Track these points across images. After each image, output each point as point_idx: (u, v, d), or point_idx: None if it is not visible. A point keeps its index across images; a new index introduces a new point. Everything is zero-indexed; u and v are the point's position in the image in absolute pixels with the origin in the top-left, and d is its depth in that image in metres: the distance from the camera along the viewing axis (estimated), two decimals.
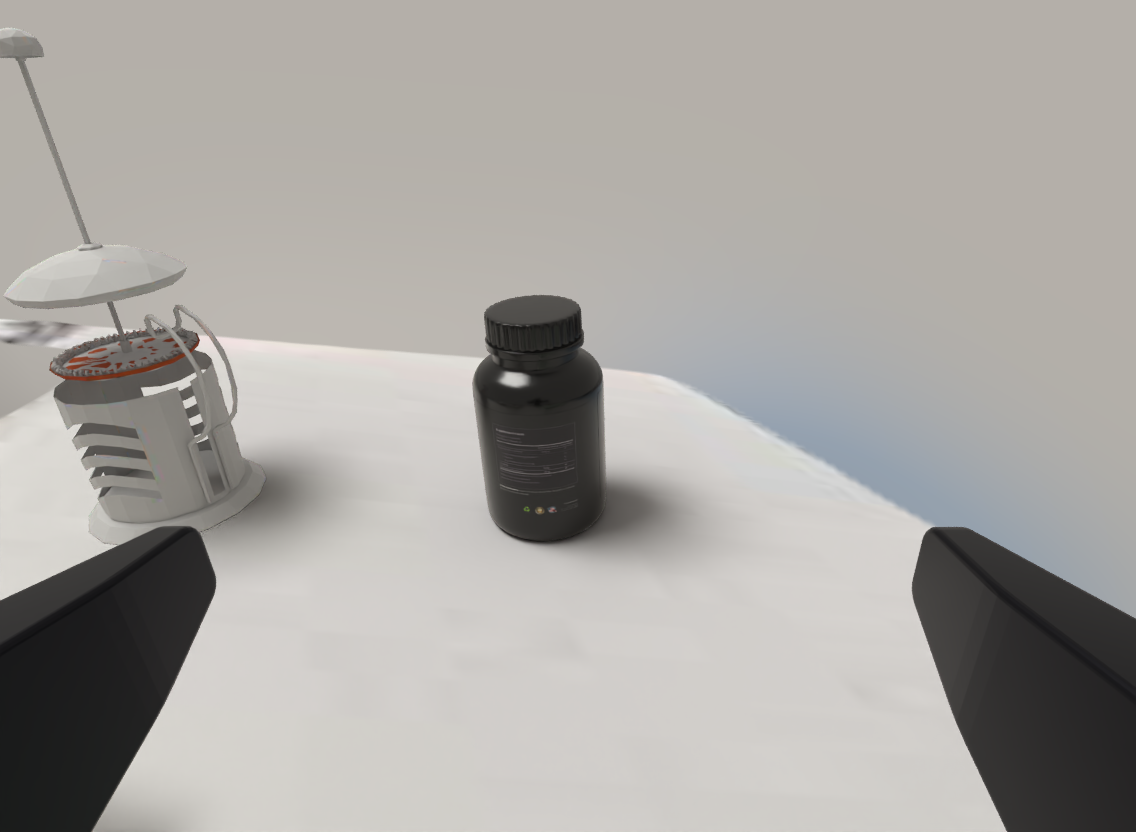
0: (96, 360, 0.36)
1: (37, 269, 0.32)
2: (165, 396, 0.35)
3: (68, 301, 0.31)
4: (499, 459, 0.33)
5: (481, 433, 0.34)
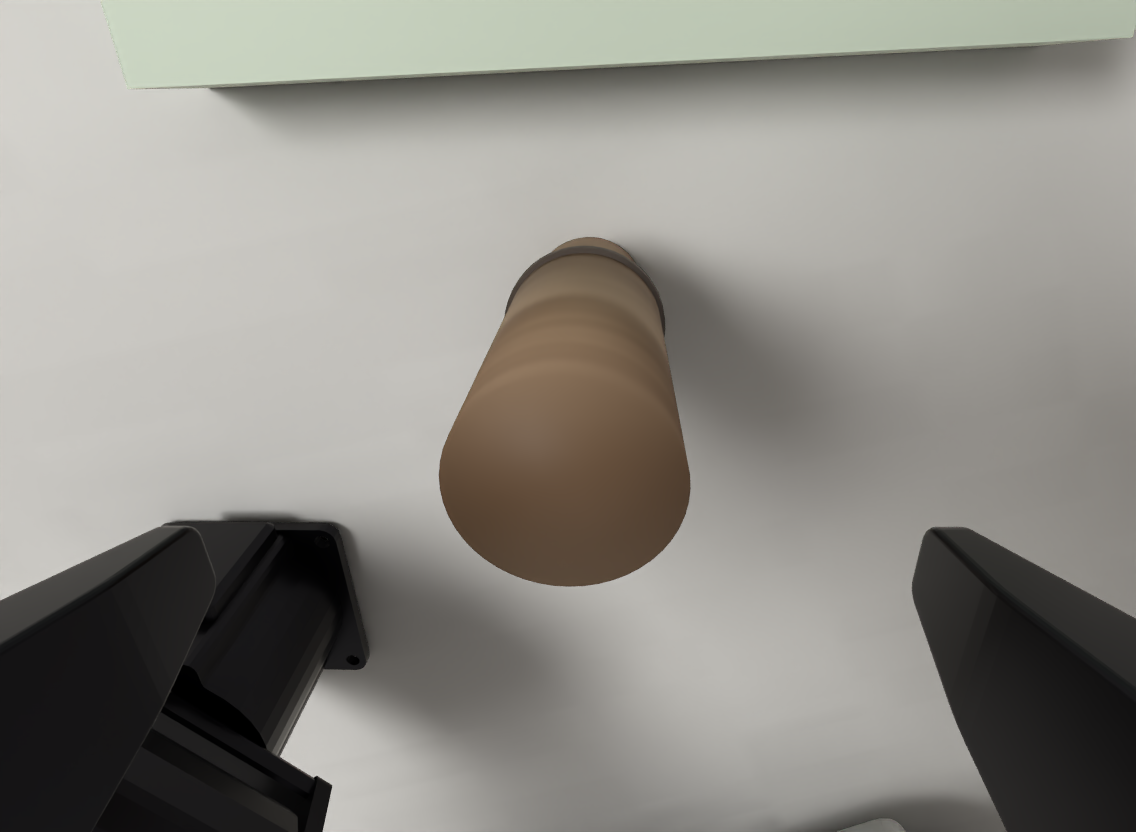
0: None
1: None
2: None
3: None
4: None
5: None
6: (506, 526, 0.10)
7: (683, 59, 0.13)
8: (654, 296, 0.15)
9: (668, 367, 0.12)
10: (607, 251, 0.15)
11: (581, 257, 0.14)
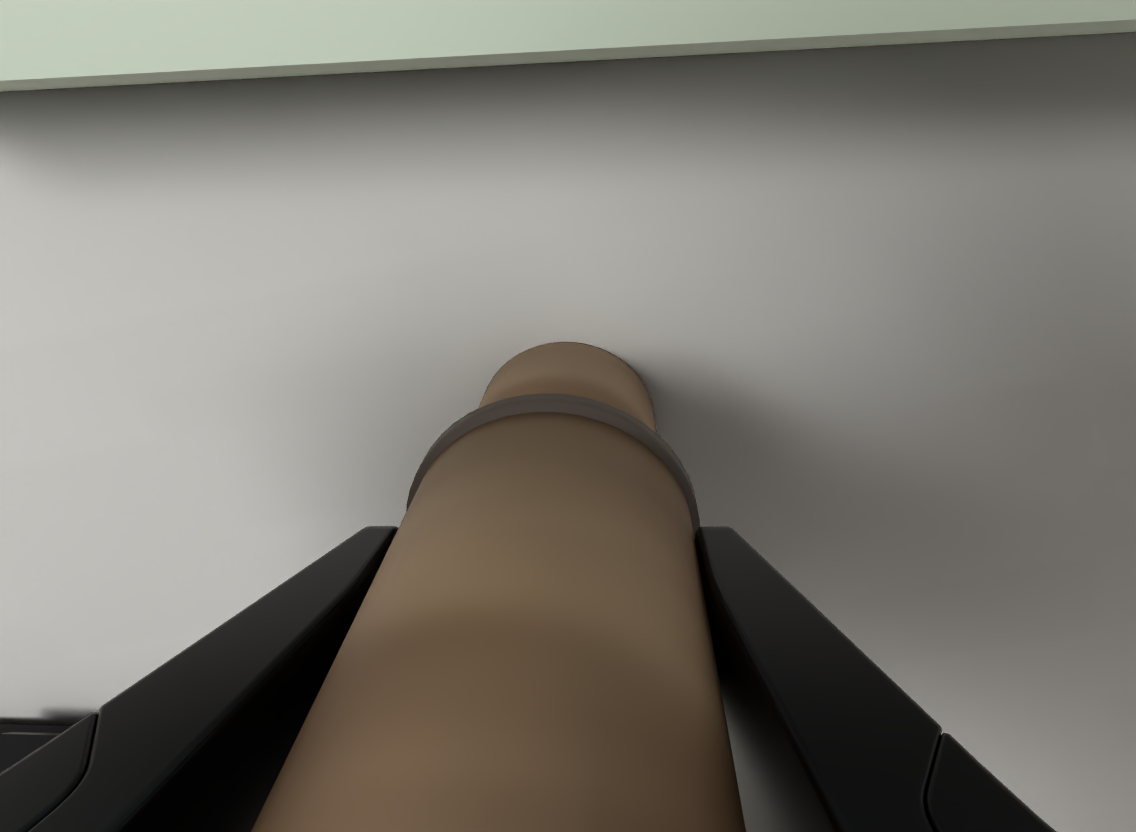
0: None
1: None
2: None
3: None
4: None
5: None
6: None
7: (752, 38, 0.06)
8: (681, 488, 0.08)
9: (736, 797, 0.05)
10: (593, 408, 0.08)
11: (541, 429, 0.07)
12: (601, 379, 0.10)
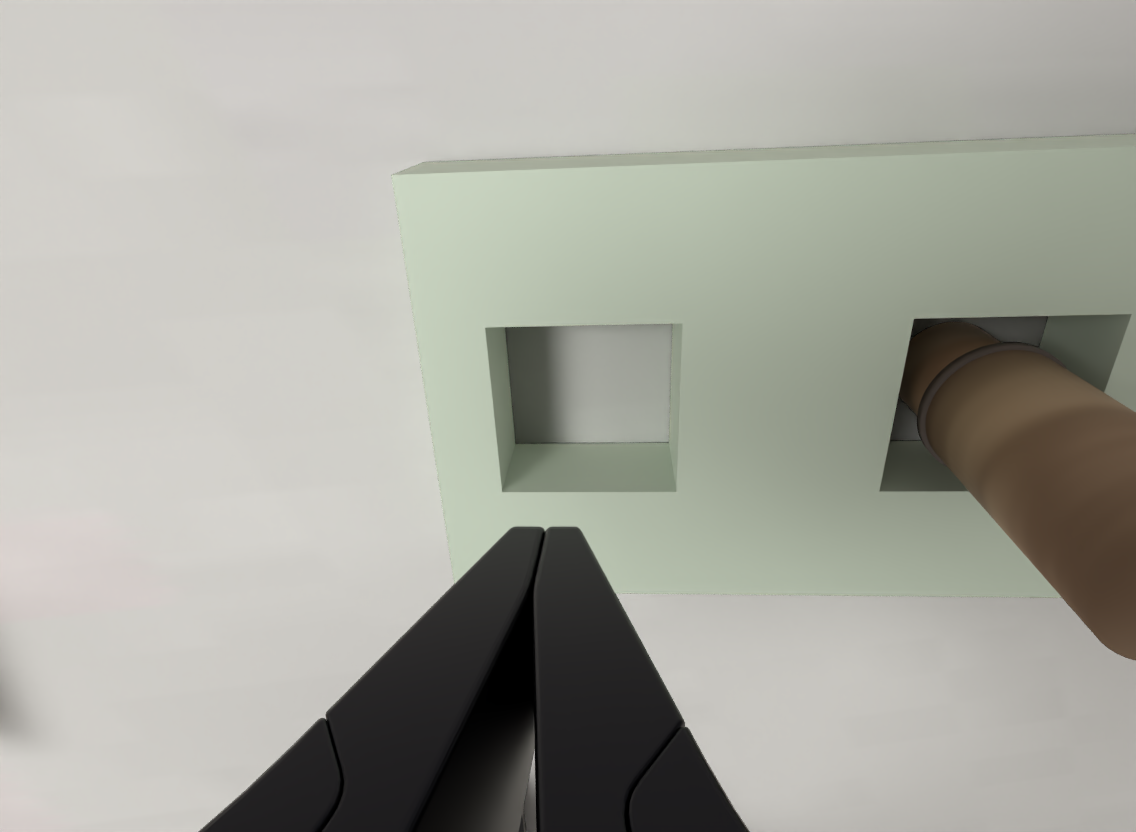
0: None
1: None
2: None
3: None
4: None
5: None
6: (1134, 617, 0.12)
7: (817, 594, 0.21)
8: None
9: None
10: (1036, 348, 0.17)
11: (1025, 356, 0.16)
12: (995, 339, 0.19)
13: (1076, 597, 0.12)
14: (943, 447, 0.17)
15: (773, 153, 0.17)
